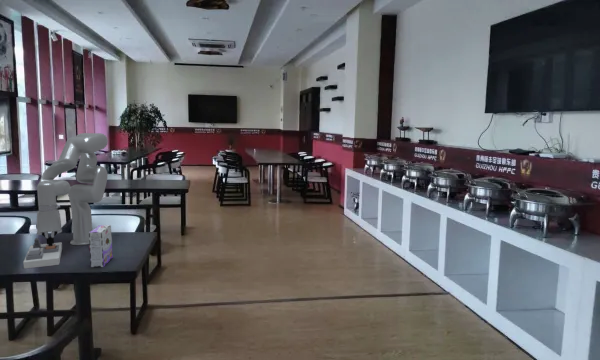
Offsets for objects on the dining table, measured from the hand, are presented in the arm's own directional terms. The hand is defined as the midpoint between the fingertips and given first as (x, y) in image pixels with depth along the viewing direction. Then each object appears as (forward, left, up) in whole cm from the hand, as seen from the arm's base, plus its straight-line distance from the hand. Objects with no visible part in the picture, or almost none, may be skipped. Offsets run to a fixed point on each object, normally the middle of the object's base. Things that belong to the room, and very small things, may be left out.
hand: (50, 245), depth 221 cm
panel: (+3, 0, -6) cm, 6 cm away
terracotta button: (0, 0, -3) cm, 3 cm away
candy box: (-22, +20, -6) cm, 30 cm away
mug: (-21, +5, -6) cm, 22 cm away
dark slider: (+7, -9, -2) cm, 11 cm away
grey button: (+6, +9, -1) cm, 11 cm away
